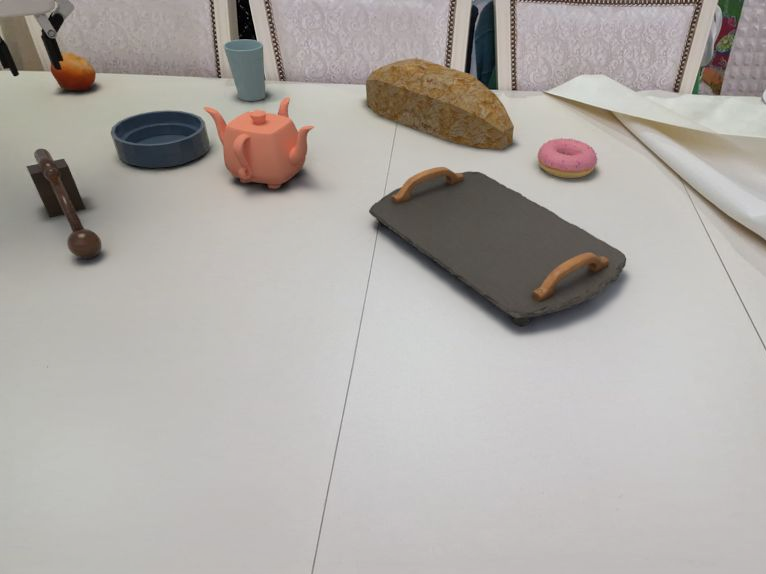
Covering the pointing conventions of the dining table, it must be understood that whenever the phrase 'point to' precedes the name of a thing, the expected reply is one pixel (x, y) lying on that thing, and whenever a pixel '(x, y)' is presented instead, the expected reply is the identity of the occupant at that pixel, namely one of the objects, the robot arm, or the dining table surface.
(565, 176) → the doughnut
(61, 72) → the fruit
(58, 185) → the brown ball-ended stick
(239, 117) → the teapot
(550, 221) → the serving tray
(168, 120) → the bowl
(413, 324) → the dining table surface
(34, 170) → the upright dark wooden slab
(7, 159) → the dining table surface
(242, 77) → the cup
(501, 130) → the bread
